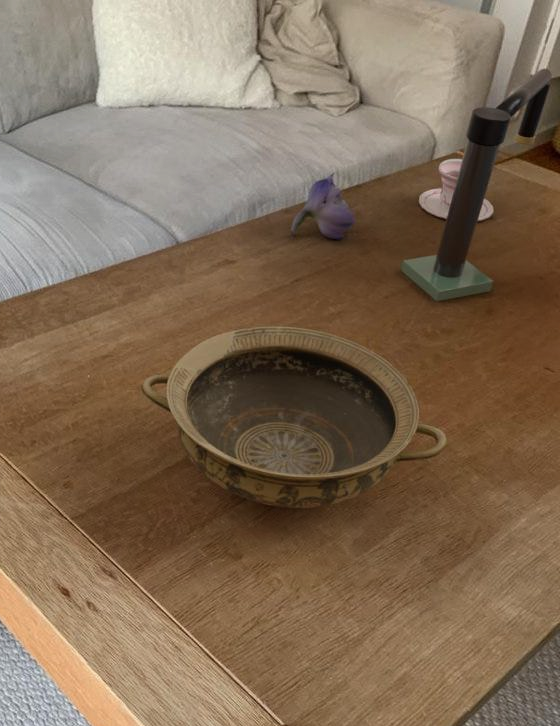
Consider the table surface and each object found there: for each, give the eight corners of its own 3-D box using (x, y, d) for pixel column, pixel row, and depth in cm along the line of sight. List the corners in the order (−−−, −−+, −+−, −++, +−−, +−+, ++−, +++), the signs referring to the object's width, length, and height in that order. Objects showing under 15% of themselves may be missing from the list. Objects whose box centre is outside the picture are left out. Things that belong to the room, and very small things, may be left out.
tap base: (452, 261, 120) (491, 124, 107) (490, 291, 114) (536, 149, 101) (400, 270, 117) (433, 130, 104) (436, 301, 111) (476, 157, 98)
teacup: (414, 188, 138) (423, 152, 134) (486, 195, 138) (497, 158, 134) (422, 220, 130) (431, 181, 125) (498, 226, 129) (510, 188, 125)
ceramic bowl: (436, 432, 90) (460, 356, 84) (415, 591, 73) (443, 513, 67) (177, 375, 96) (180, 300, 89) (101, 512, 79) (97, 432, 72)
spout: (479, 209, 105) (504, 123, 98) (445, 199, 107) (467, 114, 99) (541, 142, 124) (566, 66, 116) (511, 134, 125) (534, 59, 118)
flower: (295, 206, 116) (350, 165, 116) (271, 206, 123) (323, 167, 124) (325, 261, 120) (378, 222, 120) (300, 258, 127) (351, 220, 128)
